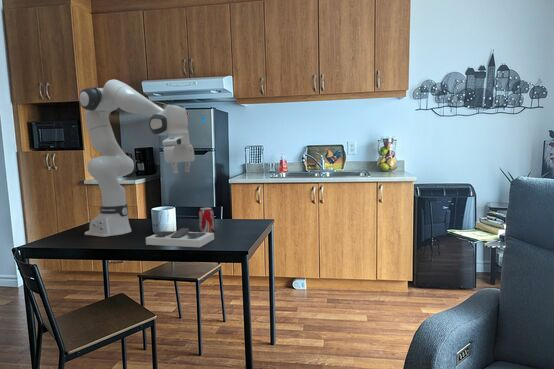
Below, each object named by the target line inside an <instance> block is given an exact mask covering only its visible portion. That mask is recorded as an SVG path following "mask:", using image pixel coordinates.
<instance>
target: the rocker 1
mask: <svg viewBox="0 0 554 369" xmlns="http://www.w3.org/2000/svg"><path fill="white" fill-rule="evenodd" d="M173 231H174V230H163V231H162V230H161V231H160V230H159V231H155V232H154V234H155V235H170V234H173V233H174V232H173Z"/></svg>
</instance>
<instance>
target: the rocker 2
mask: <svg viewBox="0 0 554 369" xmlns="http://www.w3.org/2000/svg"><path fill="white" fill-rule="evenodd" d="M205 234H206V233H188V235H187V237H201V236H203V235H205Z"/></svg>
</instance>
